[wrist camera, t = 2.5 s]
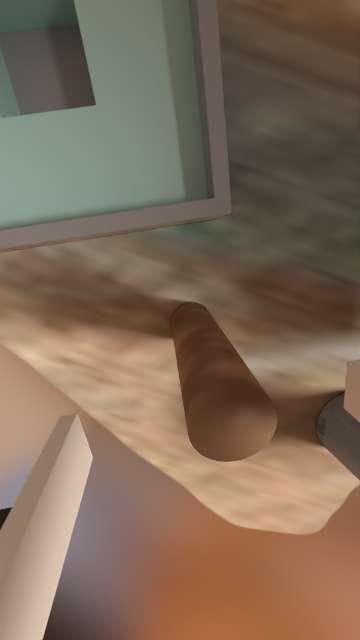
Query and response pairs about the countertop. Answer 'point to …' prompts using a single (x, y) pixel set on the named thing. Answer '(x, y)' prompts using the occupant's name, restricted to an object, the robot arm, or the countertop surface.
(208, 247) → the countertop surface
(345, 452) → the moka pot
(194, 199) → the bore box
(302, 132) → the countertop surface
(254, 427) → the walnut peg
